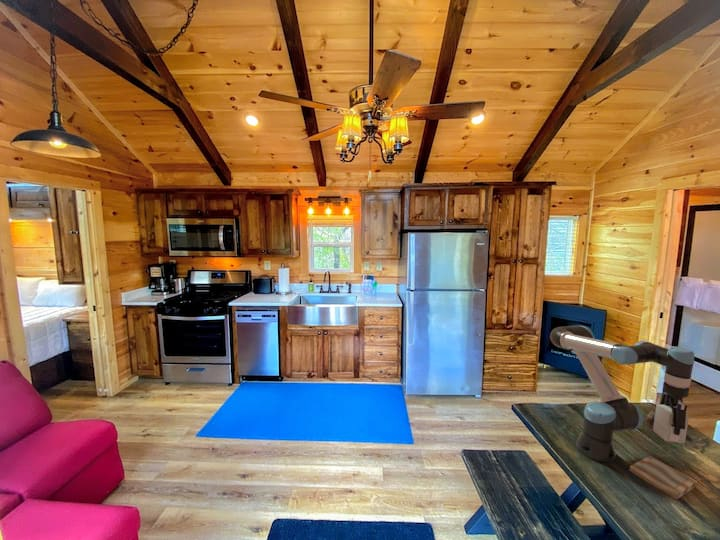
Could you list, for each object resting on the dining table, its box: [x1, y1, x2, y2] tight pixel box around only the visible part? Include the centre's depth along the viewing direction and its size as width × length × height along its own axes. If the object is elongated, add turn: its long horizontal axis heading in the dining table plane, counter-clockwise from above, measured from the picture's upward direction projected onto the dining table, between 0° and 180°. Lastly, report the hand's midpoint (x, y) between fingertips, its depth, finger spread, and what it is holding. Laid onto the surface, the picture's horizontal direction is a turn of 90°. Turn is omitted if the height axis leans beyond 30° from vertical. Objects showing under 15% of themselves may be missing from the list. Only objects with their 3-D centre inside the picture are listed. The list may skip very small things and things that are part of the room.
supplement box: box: [652, 403, 690, 444], centre depth 130 cm, size 7×7×13 cm
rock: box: [644, 409, 656, 429], centre depth 167 cm, size 12×9×10 cm
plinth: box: [629, 455, 698, 500], centre depth 134 cm, size 16×16×3 cm
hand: (668, 433), depth 131 cm, fingers closed on supplement box, 8 cm apart
